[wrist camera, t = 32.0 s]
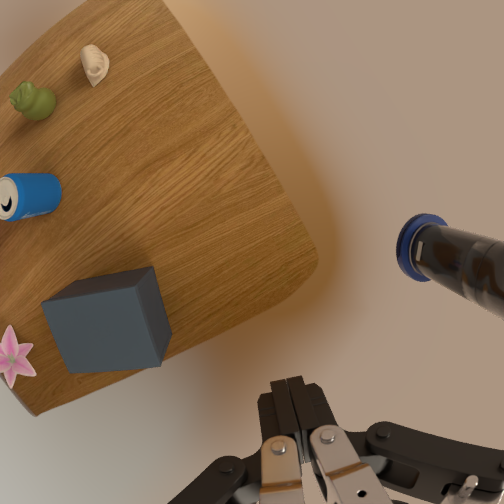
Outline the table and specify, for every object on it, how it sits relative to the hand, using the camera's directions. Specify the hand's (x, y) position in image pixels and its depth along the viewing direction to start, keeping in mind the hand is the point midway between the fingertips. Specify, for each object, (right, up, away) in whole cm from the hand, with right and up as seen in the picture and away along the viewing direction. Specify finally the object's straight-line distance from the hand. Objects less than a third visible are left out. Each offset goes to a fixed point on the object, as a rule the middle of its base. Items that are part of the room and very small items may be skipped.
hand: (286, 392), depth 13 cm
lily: (-49, -13, +33) cm, 60 cm away
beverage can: (-35, +16, +27) cm, 47 cm away
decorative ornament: (-26, +36, +23) cm, 50 cm away
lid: (-22, -4, +23) cm, 32 cm away
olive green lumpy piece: (-35, +31, +24) cm, 52 cm away
